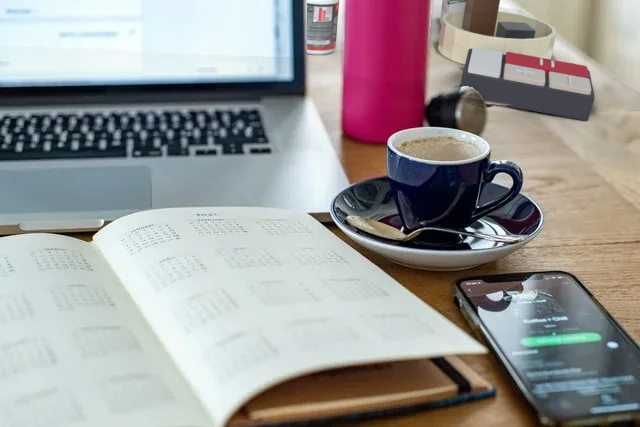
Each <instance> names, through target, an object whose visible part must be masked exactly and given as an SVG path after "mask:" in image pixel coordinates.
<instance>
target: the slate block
mask: <svg viewBox="0 0 640 427" xmlns="http://www.w3.org/2000/svg"><path fill="white" fill-rule="evenodd" d="M496 37H500V38H512V39H533V38H534V37H535V30H534V29H533V28H531V27H530V26H529V25H528V24H527V23H517V22H498V25H497V31H496Z"/></svg>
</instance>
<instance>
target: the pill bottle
mask: <svg viewBox="0 0 640 427" xmlns="http://www.w3.org/2000/svg"><path fill="white" fill-rule="evenodd" d="M339 9H340V0H307V53H306V55H319V56H320V55H321V56H322V55H328V54H331V53H333V52H334V51H335V50H336V46H337V37H338V36H337V34H338V20H339Z"/></svg>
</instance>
